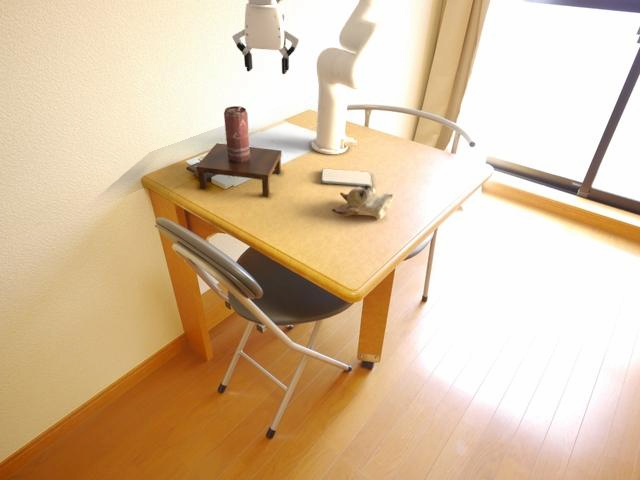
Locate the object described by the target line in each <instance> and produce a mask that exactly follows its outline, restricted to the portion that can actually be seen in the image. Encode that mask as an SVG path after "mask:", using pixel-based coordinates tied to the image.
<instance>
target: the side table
mask: <svg viewBox="0 0 640 480" xmlns="http://www.w3.org/2000/svg"><path fill="white" fill-rule="evenodd" d="M249 150H250V157H249V159H248V160H247V161H245V162H241V163H237V162H232V161H230V160H229V158H228V152H227V143H218V142H217V143H215V144H214V146H212V148H211V149H210V150H209V151H208V152H207V153H206V155H205V156H204V157H203V158H201V160H200V161H199V162H198V163H197V165H196V166H195V168H196V170H195V171H196V172H197V176H198V182H199V183H198V184H199V189H200V190H206V189H207V188H208V186H209V185H208V179H207V174H212V175H218V176H219V175H221V176H229V177H237V178H245V179H254V180H260V181H261V190H262V197H263V198H269V196H270V178H271V176H272V174H273V173H274V174H276V175H280V174H281V172H282V150H281V149H280V150H279V149H271V148H263V147H254V146H249Z"/></svg>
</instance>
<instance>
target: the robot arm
mask: <svg viewBox="0 0 640 480" xmlns="http://www.w3.org/2000/svg"><path fill="white" fill-rule="evenodd" d="M247 1H248V2H247V3H246V4H245V11H244V29H242V30H241V31H239V32H237V33H235V34H233V35H232V40H233V42H234V44H235V45H236V48H237V49H238V50H239V51H240V52H241V54H242V55H243V59H244V67H245V68H246V72H250V71H252V69H253V55H252V54H253V53H252V52H251V50H252V49H256V50H269V51H278V52H279V53H280V54H281V55H282V58H281V74H282V75H286V74H287V72H288V71H289V69H290V56H291V55H292V54H293V53H294V52H295V51H296V48H297V47H298V44H299V42H300V39H299V38H298V37H296V36H295V35H293V34H291V33H290V32H288V31H287V27H286V26H287V25H286V17H285V9H284V5H283V4H281V2H282V1H283V0H247ZM385 10H386V6H385V0H359V1H358V3H357V4H356V6H355V8H354V9H353V11H352V13H351V14H350V16H349V18H348V19H347V20H346V22H345V24H343V27H342V28H341V30H340V33H339V35H338V37H339V38H338V41H339V44H340V46H341V47H342V48H343V49H341V48H338V47H327V48H325V49H323V50H322V51H321V52H320V53H319V54H318V57H317V60H316V75H317V82H318V84H317V85H318V97H317V116H316V117H317V118H316V138H314V139H313V140H311V148H312V149H313V150H314V151H315V152H318V153H321V154H325V155H338V154H342V153H344V152H347V150H348V149H349V148H348V147H349V146H350V147H357V144H358V143H357V142H358V140H355V138H354V137H348V136H347V134H346V132H345V130H346V123H347V122H346V120H347V112H348V111H347V110H348V101H349V94H348V89H352V90H358V89H360V88H362V87H363V86H364V85H365V84H366V83H367V82H368V81H369V79H370V78H371V76H372V75H373V73H374V71H375V70H376V68H377V67H378V65H379V64H380V62H381V61H382V60H383V58H384V56H385V55H386V52H387V50H388V49H389V46H390V45H389V44H390V37H391V36H390V31H389V29H388V27H387V26H386V25H385V24H384V23H381V21H382V19H383V17H384V14H385ZM243 37H244V41H245V44H244V43H243V42H242V41H241V38H243ZM287 40H288V41H289V42H290V43H291V46H290V47H289V48H288V47H286V45H287Z"/></svg>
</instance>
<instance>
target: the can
mask: <svg viewBox="0 0 640 480" xmlns="http://www.w3.org/2000/svg"><path fill="white" fill-rule="evenodd" d="M223 117H224V128H225V129H224V131H225V140H226V144H227V152H228V158H229V160H230V161H232V162H237V163H241V162H245V161H247V160H248V159H249V157H250V150H249V147H250V135H249V133H250V132H249V116H248V111H247V109H246V108H245V107H243V106H240V105H239V106H238V105H237V106H235V105H234V106H228V107H226V108H225V109H224V111H223Z"/></svg>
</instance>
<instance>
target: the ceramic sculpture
mask: <svg viewBox="0 0 640 480" xmlns="http://www.w3.org/2000/svg"><path fill="white" fill-rule="evenodd" d="M339 195H340V196H341V197H342V198H343V199H344V200H345V201H346V203H345V204H341V205H339V206H337V207H335V208H331V209H330V210H331V211H332V212H334V213H336V214H338V215H339V216H340V215H341V216H345V217H349V216H354V215H357V216H373V217H374V218H376V220H378V221H379V220H381V219H382V218H384V217H385V216H386V214H387V212H388V211H389V210H390V209H391V205H392V202H393V200H394V194H391V193H378V192H377V191H376V189H375V188H374V187H372V185H371V186H368V185H366V186H356V187H354V188H352V189H351V190H350V191H349V192H348V193H345V192H339Z"/></svg>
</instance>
